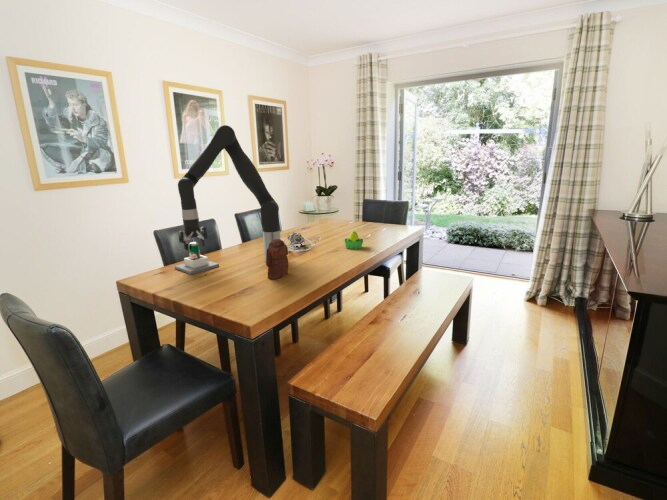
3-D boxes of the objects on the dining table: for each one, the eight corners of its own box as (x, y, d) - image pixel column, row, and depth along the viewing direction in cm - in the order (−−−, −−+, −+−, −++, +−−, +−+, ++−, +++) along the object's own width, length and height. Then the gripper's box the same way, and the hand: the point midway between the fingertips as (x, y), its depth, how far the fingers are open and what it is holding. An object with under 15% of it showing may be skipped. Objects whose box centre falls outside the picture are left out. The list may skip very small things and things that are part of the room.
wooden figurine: (280, 271, 176) (277, 236, 171) (290, 273, 172) (288, 237, 168) (264, 278, 166) (261, 241, 161) (275, 280, 163) (272, 243, 158)
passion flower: (299, 256, 220) (292, 244, 212) (288, 250, 227) (281, 238, 219) (311, 244, 224) (304, 231, 216) (300, 238, 231) (293, 226, 223)
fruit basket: (363, 246, 220) (363, 228, 217) (363, 250, 211) (363, 231, 208) (345, 246, 221) (344, 228, 218) (344, 250, 212) (344, 231, 210)
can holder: (219, 266, 186) (218, 256, 184) (191, 274, 174) (189, 263, 172) (202, 261, 195) (201, 251, 194) (174, 268, 183) (173, 258, 182)
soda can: (189, 266, 182) (186, 243, 179) (194, 263, 187) (191, 241, 184) (197, 266, 181) (195, 244, 178) (203, 263, 186) (200, 241, 183)
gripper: (181, 220, 170) (185, 252, 174) (207, 216, 181) (211, 246, 185) (173, 219, 175) (178, 250, 179) (199, 215, 185) (203, 244, 189)
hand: (194, 248), depth 182 cm, fingers open, 8 cm apart
